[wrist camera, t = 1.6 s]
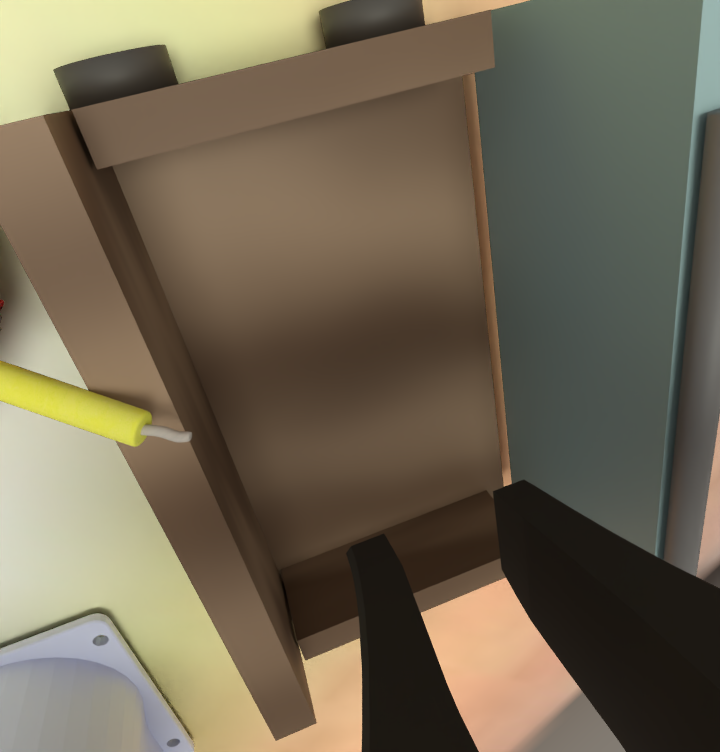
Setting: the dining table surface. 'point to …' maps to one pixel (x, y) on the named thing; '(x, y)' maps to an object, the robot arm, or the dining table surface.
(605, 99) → the panel
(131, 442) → the cupcake
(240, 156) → the cart bed
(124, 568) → the dining table surface
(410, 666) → the robot arm
